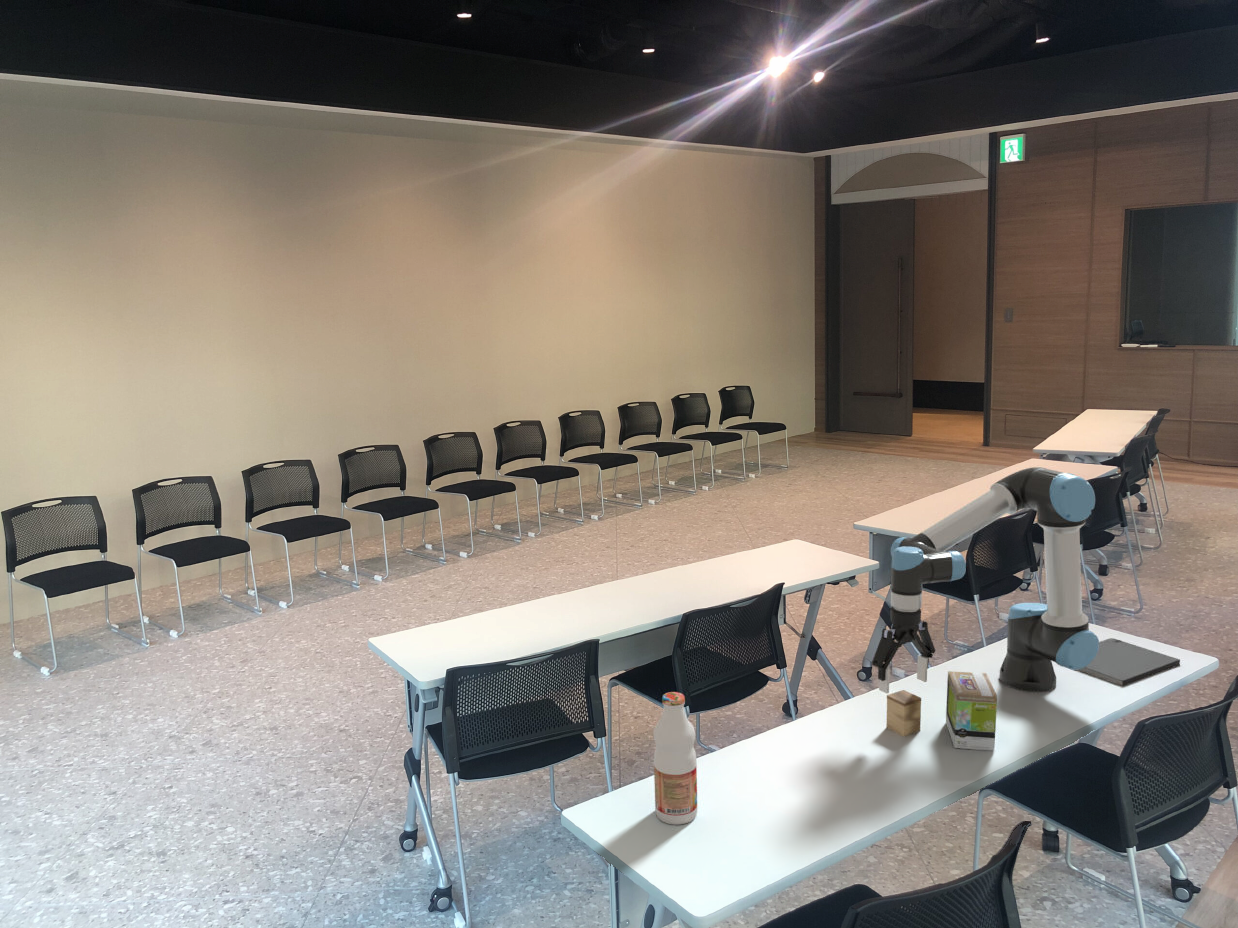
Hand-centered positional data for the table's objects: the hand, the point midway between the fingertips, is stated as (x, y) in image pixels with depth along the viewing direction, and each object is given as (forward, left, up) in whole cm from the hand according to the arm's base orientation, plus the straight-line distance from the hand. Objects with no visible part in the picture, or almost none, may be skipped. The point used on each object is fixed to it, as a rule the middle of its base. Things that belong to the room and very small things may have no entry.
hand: (903, 685), depth 238 cm
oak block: (0, 0, -12) cm, 12 cm away
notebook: (-85, +4, -13) cm, 86 cm away
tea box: (-11, +12, -12) cm, 21 cm away
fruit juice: (+72, +2, -12) cm, 73 cm away
